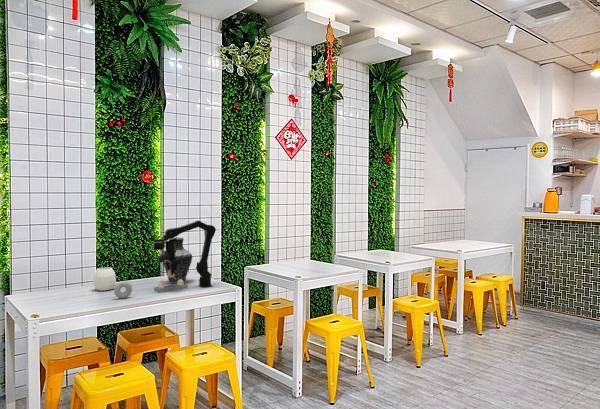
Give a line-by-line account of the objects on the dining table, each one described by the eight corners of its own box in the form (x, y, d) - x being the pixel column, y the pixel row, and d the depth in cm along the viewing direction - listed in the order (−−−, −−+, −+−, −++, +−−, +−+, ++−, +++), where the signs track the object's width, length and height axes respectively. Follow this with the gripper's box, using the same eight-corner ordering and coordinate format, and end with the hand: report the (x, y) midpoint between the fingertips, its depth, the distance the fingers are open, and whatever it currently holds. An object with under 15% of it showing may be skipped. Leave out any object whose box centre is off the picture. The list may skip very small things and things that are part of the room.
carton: (183, 286, 312) (183, 277, 312) (187, 288, 307) (187, 279, 307) (154, 290, 300) (153, 281, 300) (158, 292, 295) (158, 283, 295)
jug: (189, 278, 339) (188, 235, 338) (195, 283, 321) (194, 238, 320) (158, 281, 331) (157, 237, 330) (162, 286, 313) (162, 240, 312)
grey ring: (114, 300, 277) (114, 282, 276) (113, 298, 280) (113, 281, 279) (133, 297, 282) (132, 280, 281) (131, 296, 285) (131, 279, 284)
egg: (172, 276, 306) (172, 268, 306) (175, 277, 303) (175, 269, 303) (166, 277, 304) (166, 269, 303) (169, 278, 300) (168, 269, 300)
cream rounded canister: (97, 293, 296) (97, 270, 296) (90, 289, 306) (90, 268, 305) (119, 289, 305) (119, 268, 304) (111, 286, 315) (111, 265, 314)
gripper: (152, 248, 305) (152, 273, 306) (163, 251, 290) (164, 277, 291) (169, 247, 312) (169, 271, 313) (181, 250, 297) (181, 275, 298)
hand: (170, 274), depth 303 cm, fingers closed on egg, 4 cm apart
